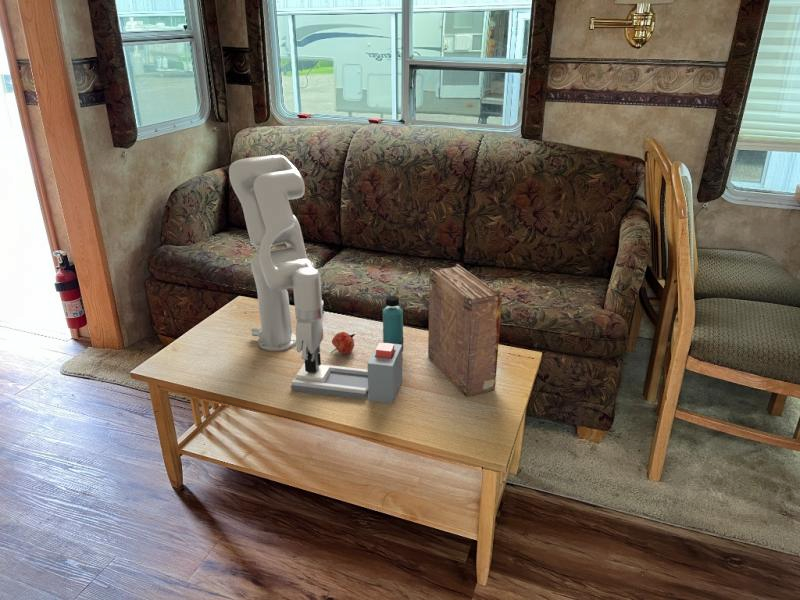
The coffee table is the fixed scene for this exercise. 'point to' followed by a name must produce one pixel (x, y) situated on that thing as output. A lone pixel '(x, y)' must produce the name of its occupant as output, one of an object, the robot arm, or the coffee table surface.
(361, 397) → the rail bed
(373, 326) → the coffee table surface
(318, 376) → the carriage
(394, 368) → the button cabinet
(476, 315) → the book
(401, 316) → the beverage bottle
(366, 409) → the coffee table surface
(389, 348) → the button
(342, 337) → the pomegranate
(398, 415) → the coffee table surface
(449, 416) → the coffee table surface
